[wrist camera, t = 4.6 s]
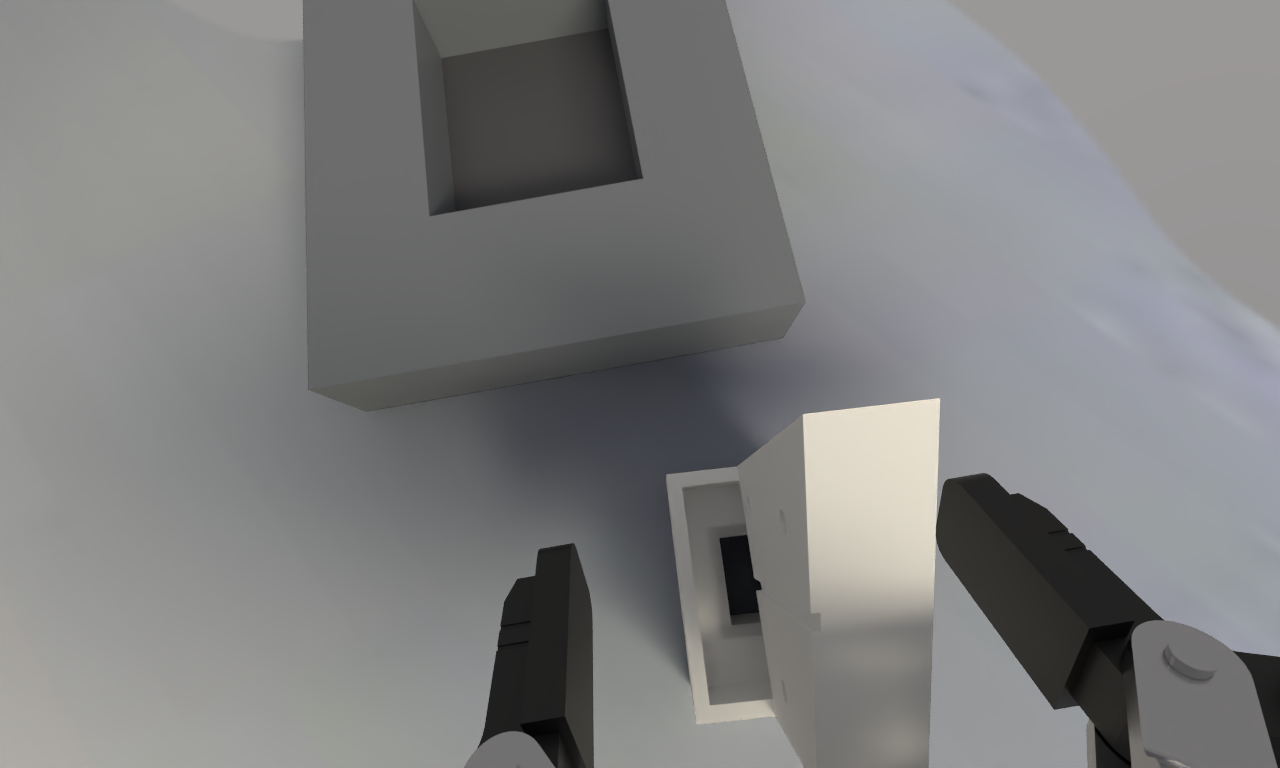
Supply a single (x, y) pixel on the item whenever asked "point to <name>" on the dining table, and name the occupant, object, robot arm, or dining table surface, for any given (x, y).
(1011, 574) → the robot arm
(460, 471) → the dining table surface
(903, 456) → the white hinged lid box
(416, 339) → the socket plate
